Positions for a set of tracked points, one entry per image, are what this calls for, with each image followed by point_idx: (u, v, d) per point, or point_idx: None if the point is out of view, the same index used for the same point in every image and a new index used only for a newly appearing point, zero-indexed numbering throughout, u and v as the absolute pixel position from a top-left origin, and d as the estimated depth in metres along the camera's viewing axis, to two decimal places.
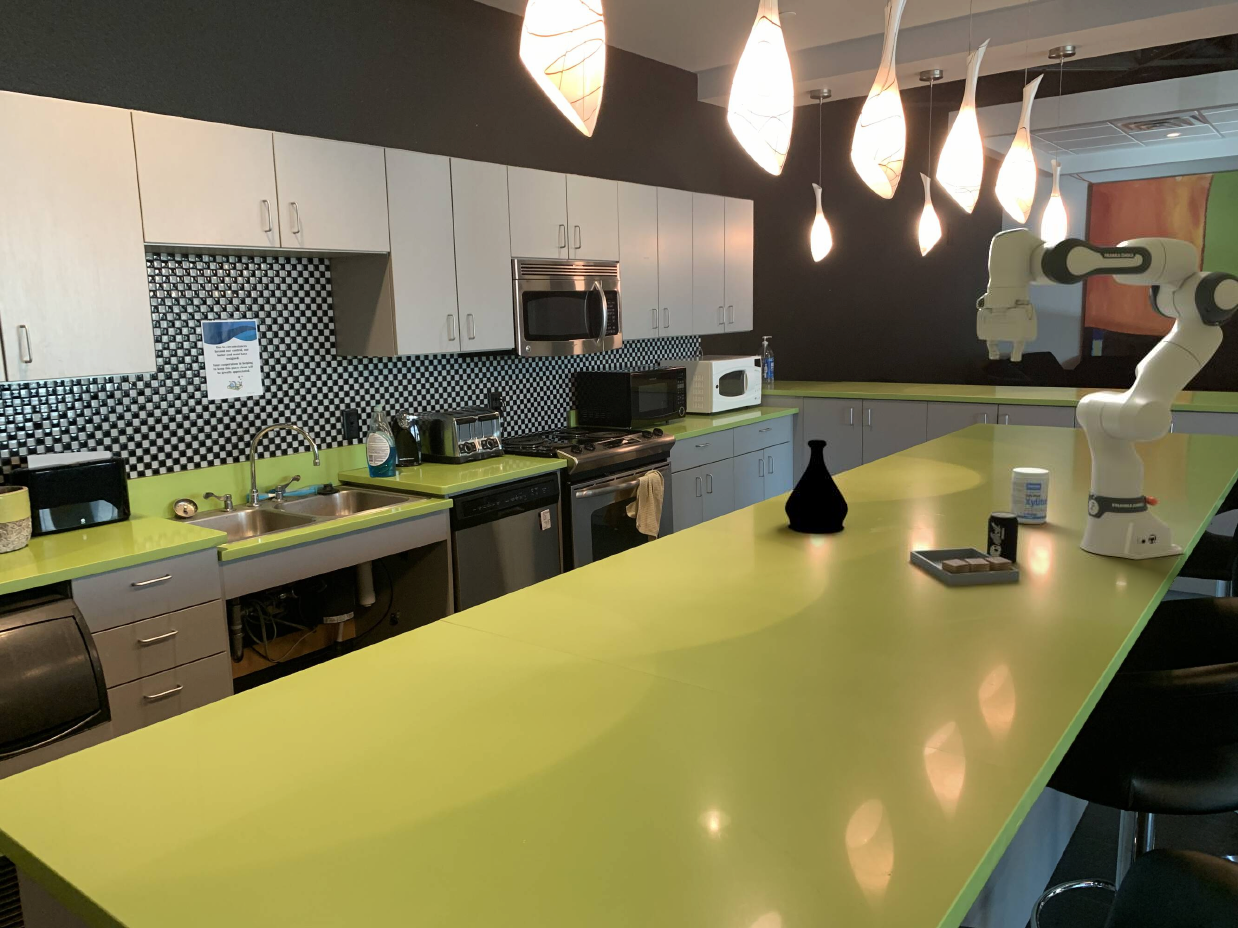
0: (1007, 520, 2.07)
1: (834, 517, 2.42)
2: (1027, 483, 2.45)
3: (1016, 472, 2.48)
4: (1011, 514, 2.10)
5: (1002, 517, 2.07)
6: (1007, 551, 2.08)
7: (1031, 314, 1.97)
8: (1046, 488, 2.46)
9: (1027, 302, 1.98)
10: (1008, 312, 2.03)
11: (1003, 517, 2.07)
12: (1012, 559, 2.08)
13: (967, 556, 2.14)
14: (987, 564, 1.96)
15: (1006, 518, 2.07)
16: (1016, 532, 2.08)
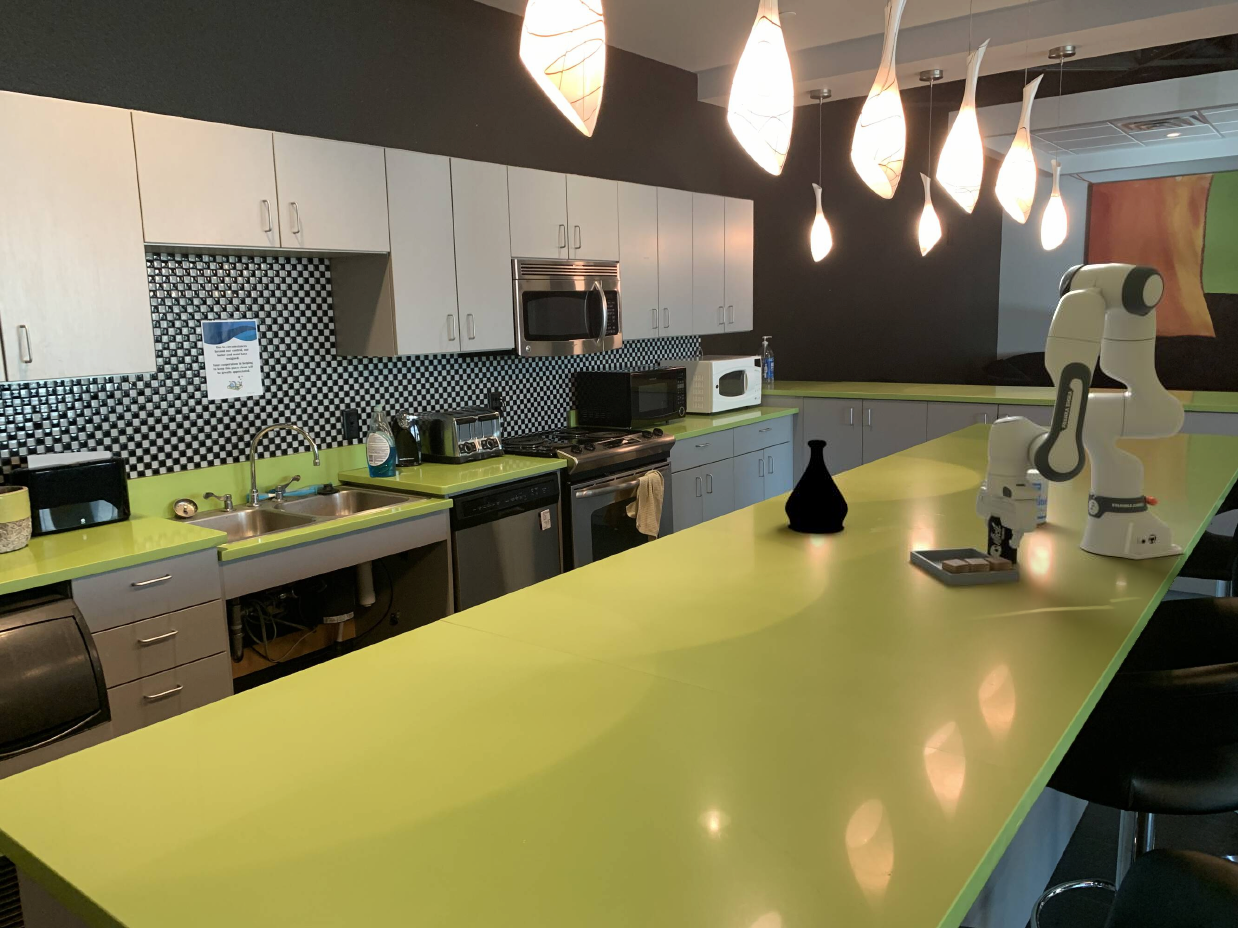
0: None
1: (834, 517, 2.42)
2: None
3: None
4: None
5: None
6: (1008, 551, 2.08)
7: None
8: (1046, 488, 2.46)
9: None
10: None
11: None
12: (1013, 559, 2.08)
13: (967, 556, 2.14)
14: (987, 564, 1.96)
15: None
16: None
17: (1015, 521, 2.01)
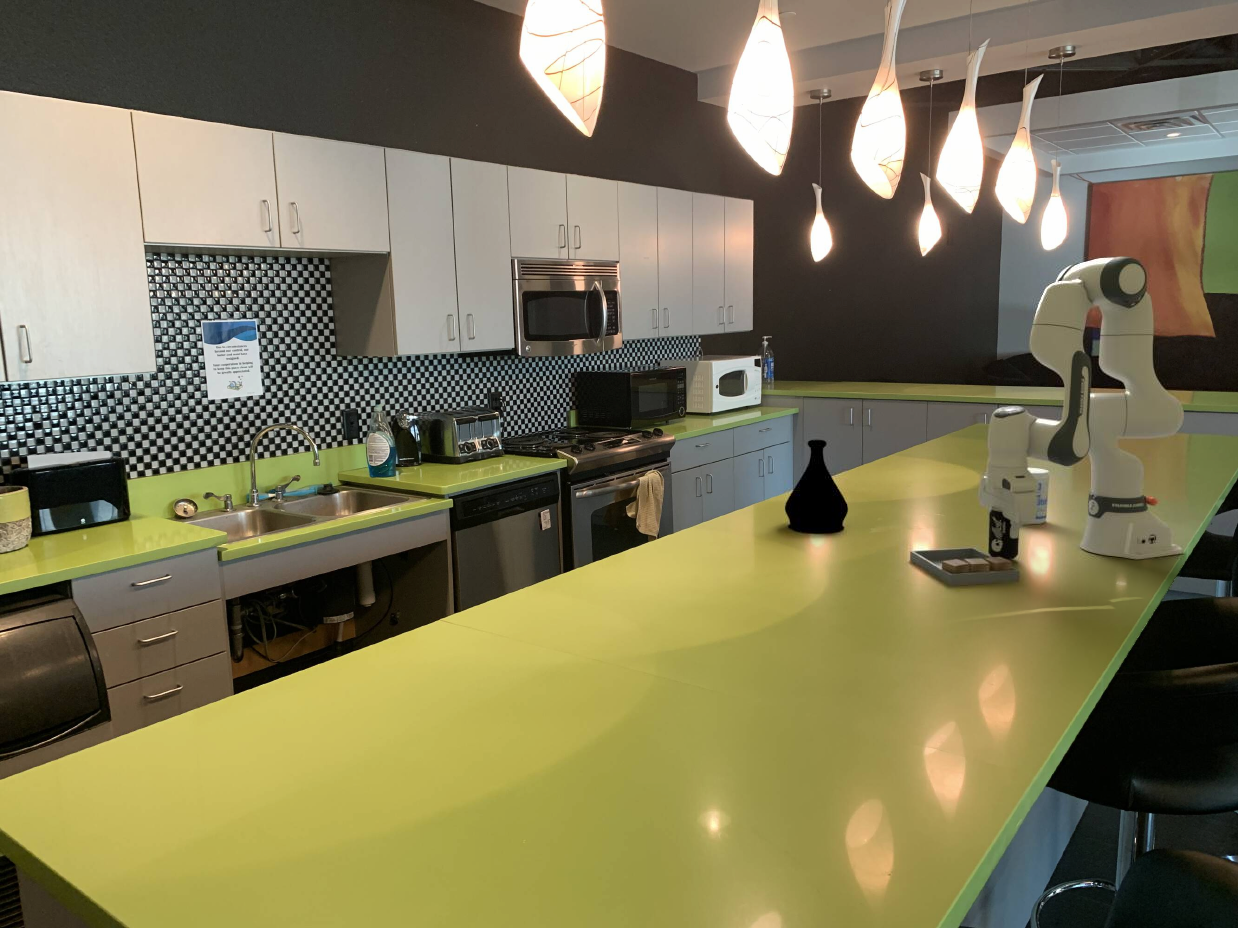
0: None
1: (834, 517, 2.42)
2: None
3: None
4: None
5: None
6: (1009, 545, 2.08)
7: None
8: (1046, 488, 2.46)
9: None
10: None
11: None
12: (1014, 553, 2.09)
13: (967, 556, 2.14)
14: (987, 564, 1.96)
15: None
16: None
17: (1014, 513, 2.02)
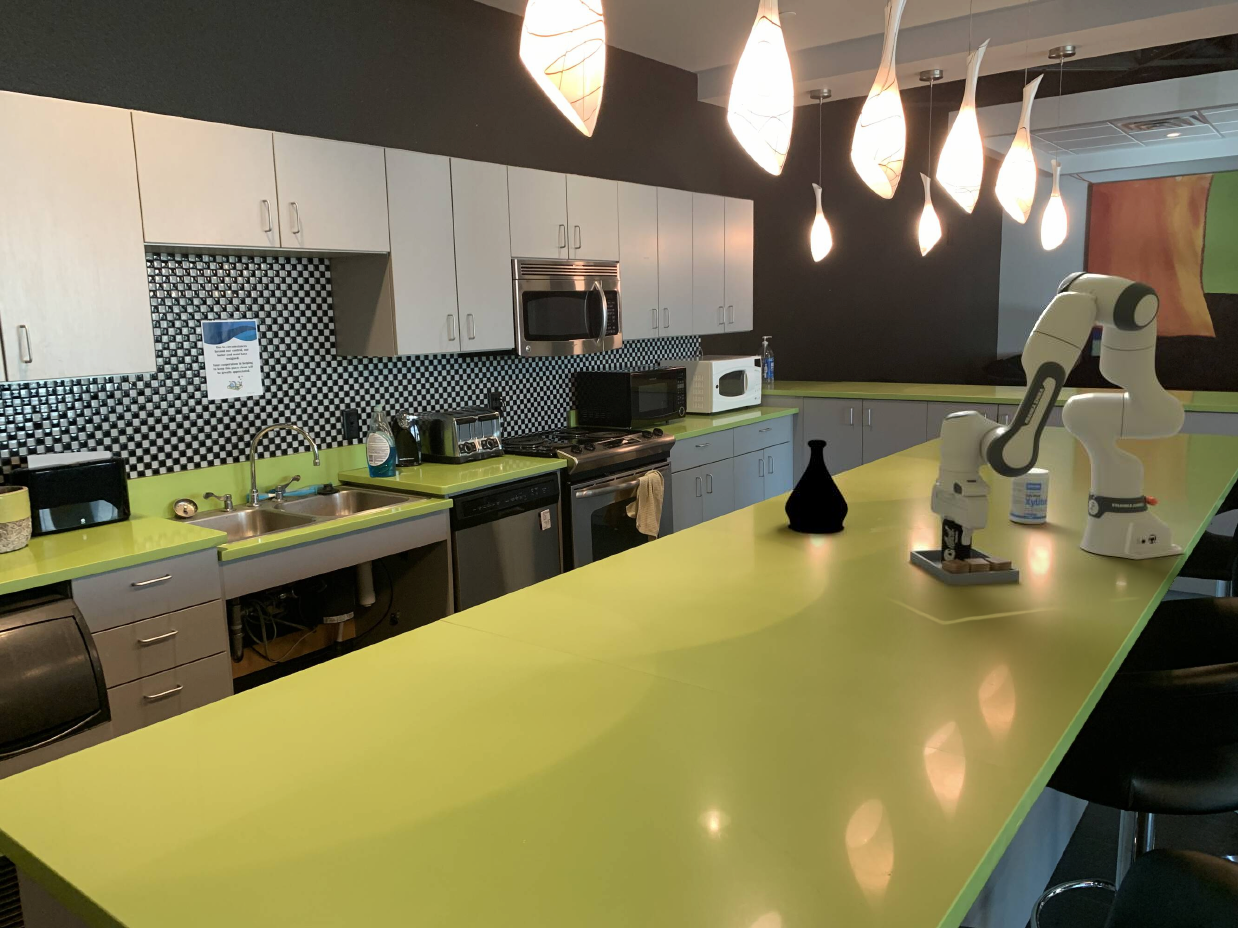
0: None
1: (834, 517, 2.42)
2: (1027, 483, 2.45)
3: None
4: None
5: None
6: (961, 554, 2.03)
7: None
8: (1046, 488, 2.46)
9: None
10: None
11: None
12: None
13: None
14: (987, 564, 1.96)
15: None
16: None
17: (966, 518, 1.97)
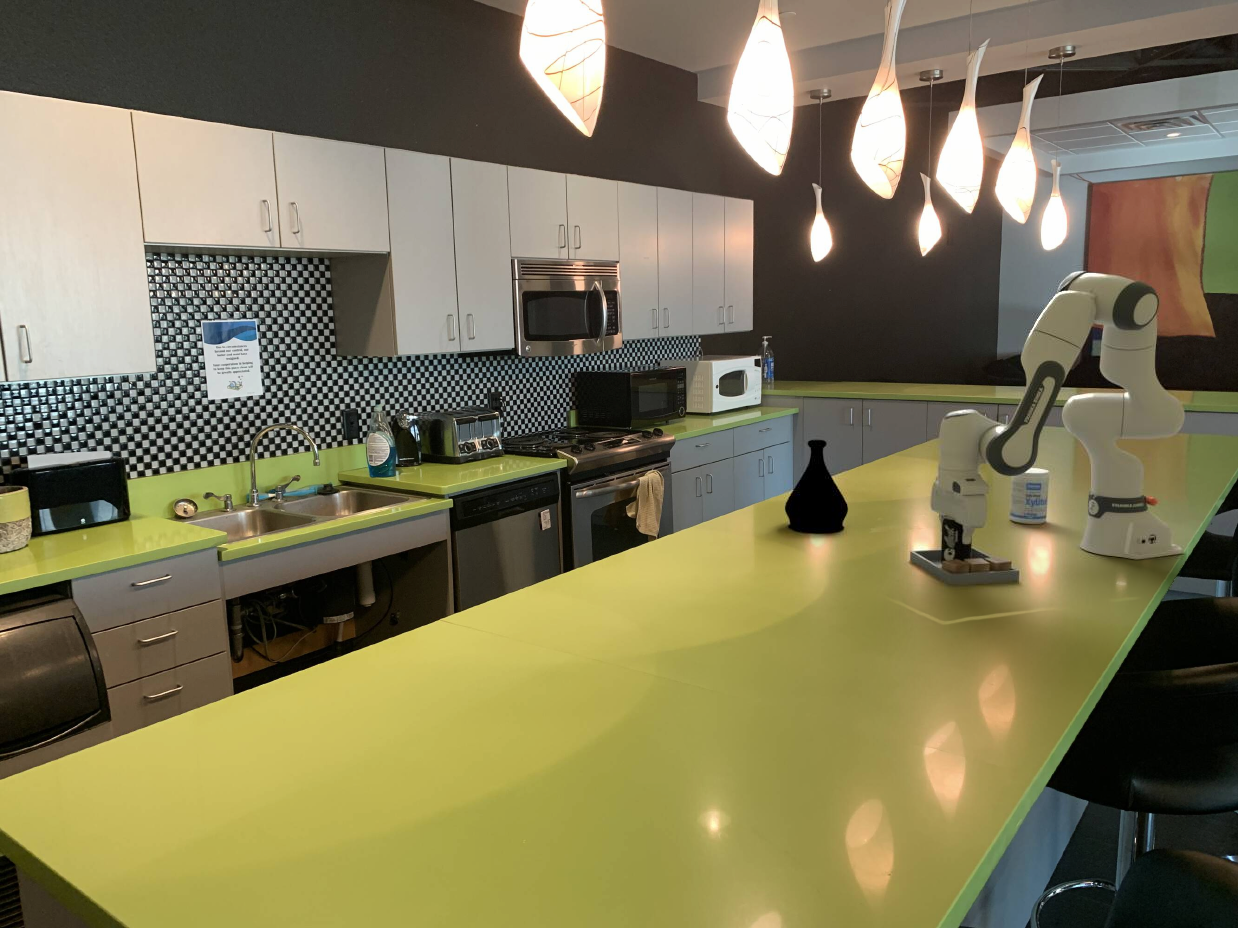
0: None
1: (834, 517, 2.42)
2: (1027, 483, 2.45)
3: None
4: None
5: None
6: (961, 554, 2.03)
7: None
8: (1046, 488, 2.46)
9: None
10: None
11: None
12: None
13: None
14: (987, 564, 1.96)
15: None
16: None
17: (965, 517, 1.98)
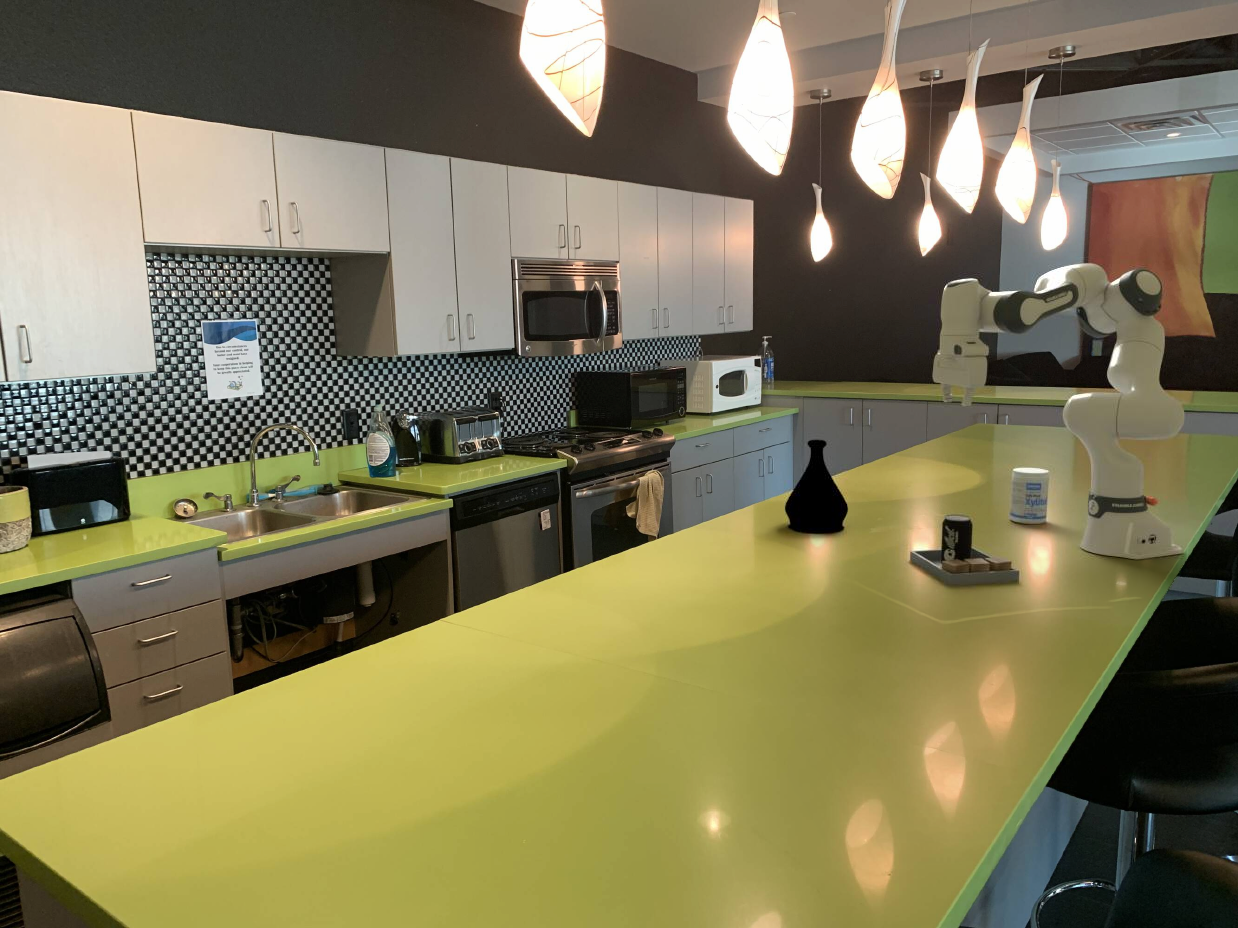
0: (960, 523, 2.02)
1: (834, 517, 2.42)
2: (1027, 483, 2.45)
3: (1016, 472, 2.48)
4: (965, 517, 2.06)
5: (956, 520, 2.03)
6: (961, 555, 2.03)
7: None
8: (1046, 488, 2.46)
9: None
10: None
11: (957, 520, 2.03)
12: None
13: None
14: (987, 564, 1.96)
15: (960, 522, 2.02)
16: (970, 536, 2.03)
17: (965, 378, 2.09)
